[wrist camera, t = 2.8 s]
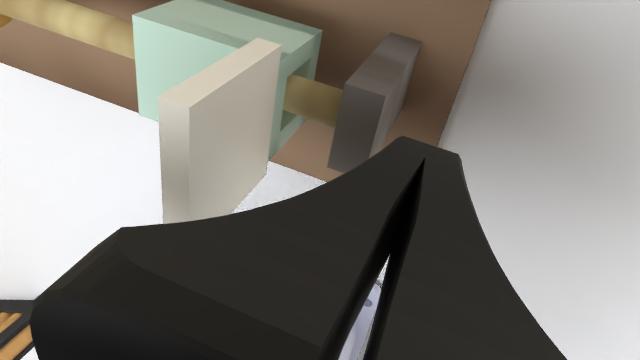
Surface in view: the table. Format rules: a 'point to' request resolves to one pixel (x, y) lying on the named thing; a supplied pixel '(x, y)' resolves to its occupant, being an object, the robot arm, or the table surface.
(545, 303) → the table surface
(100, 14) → the brown plate
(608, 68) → the table surface
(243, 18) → the green sliding block
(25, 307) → the ammunition clip
